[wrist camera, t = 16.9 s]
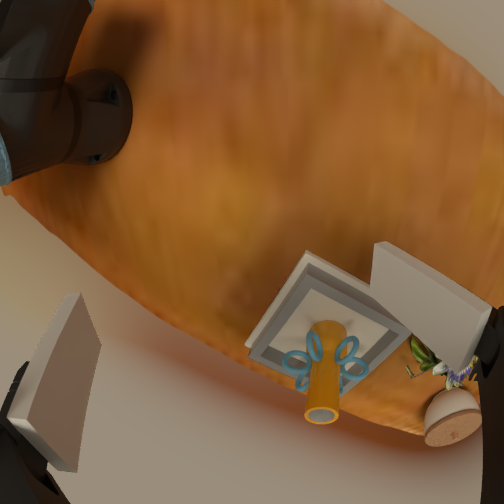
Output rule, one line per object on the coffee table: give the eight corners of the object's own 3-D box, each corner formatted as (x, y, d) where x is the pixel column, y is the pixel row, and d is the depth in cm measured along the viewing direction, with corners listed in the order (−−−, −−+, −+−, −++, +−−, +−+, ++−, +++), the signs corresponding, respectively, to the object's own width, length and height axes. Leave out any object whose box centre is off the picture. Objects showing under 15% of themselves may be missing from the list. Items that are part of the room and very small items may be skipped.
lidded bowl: (449, 415, 47) (456, 453, 37) (409, 411, 48) (413, 454, 39) (483, 381, 41) (496, 421, 31) (443, 374, 42) (454, 421, 33)
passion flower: (448, 305, 42) (495, 343, 32) (417, 354, 46) (458, 393, 36) (423, 305, 37) (481, 352, 27) (386, 362, 40) (434, 412, 30)
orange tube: (374, 311, 39) (385, 394, 26) (357, 361, 43) (358, 438, 30) (291, 301, 41) (272, 382, 28) (285, 352, 46) (267, 428, 33)
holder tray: (245, 341, 48) (239, 357, 45) (306, 249, 38) (303, 263, 35) (342, 385, 48) (341, 401, 45) (416, 312, 38) (422, 329, 35)
